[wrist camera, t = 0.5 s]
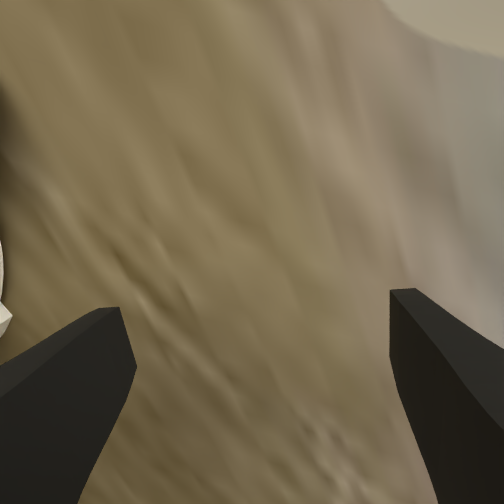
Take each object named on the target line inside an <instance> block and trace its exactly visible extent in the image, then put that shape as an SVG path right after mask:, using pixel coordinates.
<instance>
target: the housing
mask: <svg viewBox="0 0 504 504" xmlns="http://www.w3.org/2000/svg"><path fill="white" fill-rule="evenodd" d="M3 275H4V272H3V253H2V247H1V242H0V299H1V295H2V286H3ZM11 318H12V314H11V313H10V312H9V311H8V310H7V309H6V307H5V306H4V305H3V304H2V303H1V302H0V338H1V336H2V335H3V333H4V332H5V330H6V329H7V326H8V324H9V322H10V320H11Z"/></svg>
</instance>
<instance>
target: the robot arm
mask: <svg viewBox="0 0 504 504" xmlns="http://www.w3.org/2000/svg"><path fill="white" fill-rule="evenodd" d="M389 356H390V361H391V365H392V369H393V374H394V378H395V382H396V386H397V390H398V393H399V396H400V399H401V401H402V404H403V407H404V410H405V412H406V415H407V418H408V420H409V423H410V426H411V428H412V431H413V433H414V436H415V439H416V441H417V444H418V447H419V449H420V452H421V455H422V457H423V460H424V462H425V465H426V468H427V470H428V473H429V476H430V479H431V482H432V485H433V488H434V491H435V494H436V497H437V500H438V504H504V349H503V348H501V347H499V346H498V345H496V344H494V343H493V342H491V341H490V340H488V339H486V338H485V337H483V336H482V335H480V334H479V333H477V332H476V331H474V330H473V329H471V328H470V327H468V326H467V325H465V324H464V323H463V322H461V321H460V320H458V319H457V318H455V317H454V316H453V315H451V314H450V313H449V312H447V311H446V310H444V309H443V308H442V307H440V306H439V305H438V304H436V303H435V302H434V301H432V300H431V299H430V298H428V297H427V296H426V295H424V294H423V293H422V292H420V291H419V290H417V289H416V288H410V289H394V290H390V352H389ZM136 368H137V365H136V361H135V358H134V355H133V351H132V348H131V345H130V341H129V338H128V335H127V331H126V328H125V325H124V321H123V318H122V315H121V311H120V308H119V307H109V308H98V309H96V310H94V311H91V312H90V313H88V314H86V315H84V316H82V317H81V318H79V319H77V320H75V321H74V322H72V323H70V324H69V325H67V326H66V327H64V328H62V329H61V330H59V331H57V332H56V333H54V334H53V335H51V336H49V337H48V338H46V339H45V340H43V341H41V342H40V343H38V344H36V345H35V346H33V347H32V348H30V349H28V350H27V351H25V352H23V353H21V354H20V355H18V356H16V357H15V358H13V359H11V360H9V361H8V362H6V363H4V364H3V365H1V366H0V504H77V503H78V501H79V498H80V495H81V493H82V491H83V488H84V486H85V484H86V482H87V479H88V477H89V475H90V473H91V471H92V469H93V467H94V465H95V463H96V461H97V459H98V457H99V455H100V453H101V451H102V449H103V447H104V445H105V443H106V441H107V439H108V437H109V435H110V433H111V431H112V429H113V427H114V425H115V423H116V420H117V418H118V416H119V414H120V412H121V410H122V408H123V406H124V404H125V402H126V399H127V396H128V394H129V391H130V388H131V385H132V382H133V378H134V375H135V372H136Z"/></svg>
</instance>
